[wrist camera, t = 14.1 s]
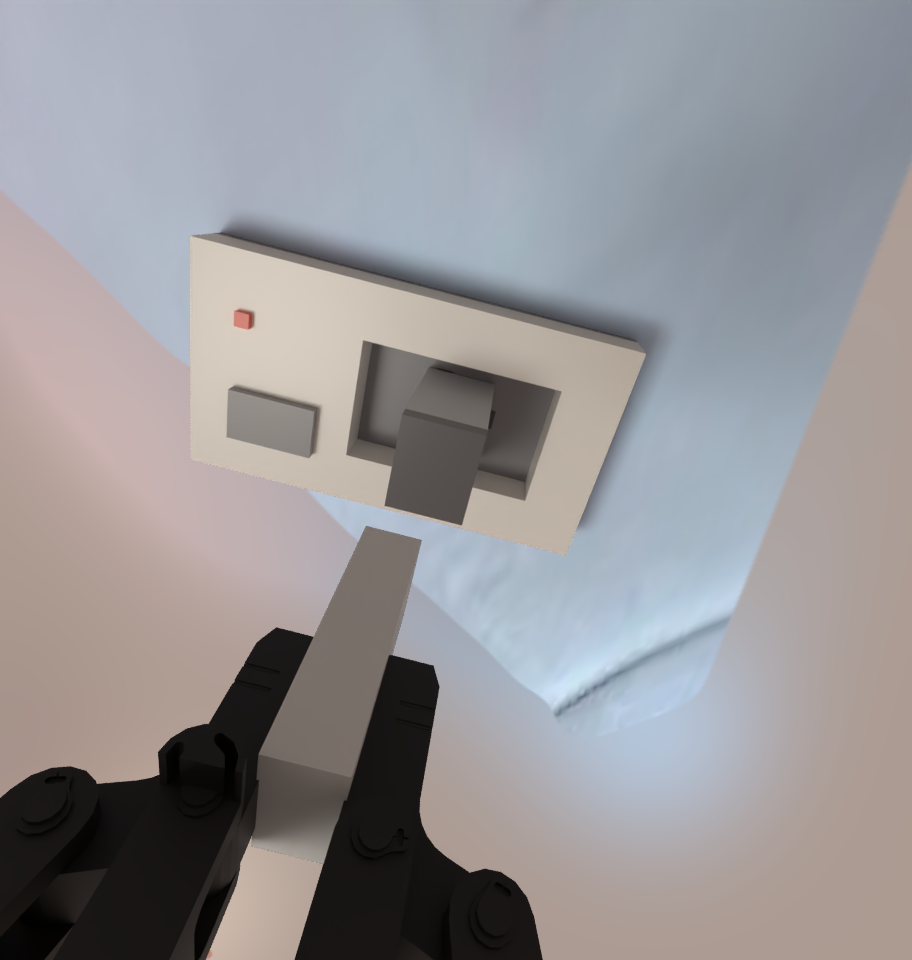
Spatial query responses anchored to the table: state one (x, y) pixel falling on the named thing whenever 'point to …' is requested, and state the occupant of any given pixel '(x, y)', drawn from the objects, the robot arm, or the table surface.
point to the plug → (440, 446)
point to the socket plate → (394, 385)
